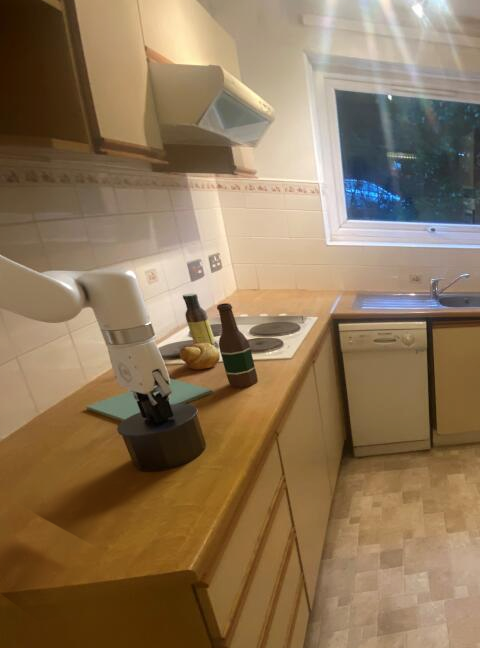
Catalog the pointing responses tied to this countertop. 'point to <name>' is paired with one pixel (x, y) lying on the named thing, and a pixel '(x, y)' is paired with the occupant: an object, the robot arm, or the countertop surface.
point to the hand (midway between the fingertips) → (158, 416)
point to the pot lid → (148, 426)
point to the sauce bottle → (198, 321)
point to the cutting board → (128, 406)
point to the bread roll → (200, 356)
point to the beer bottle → (235, 351)
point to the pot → (166, 448)
